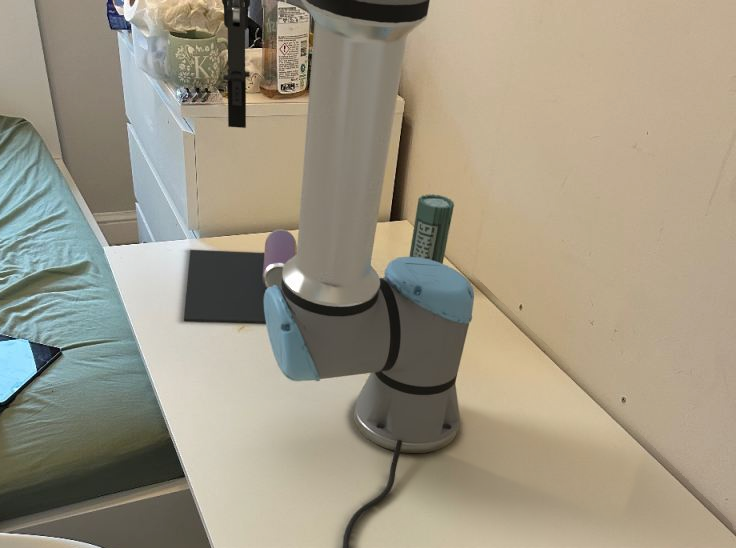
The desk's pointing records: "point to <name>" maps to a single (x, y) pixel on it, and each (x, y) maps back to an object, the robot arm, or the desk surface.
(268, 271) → the beverage can
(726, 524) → the desk surface
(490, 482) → the desk surface
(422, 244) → the can
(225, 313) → the mat
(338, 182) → the robot arm
